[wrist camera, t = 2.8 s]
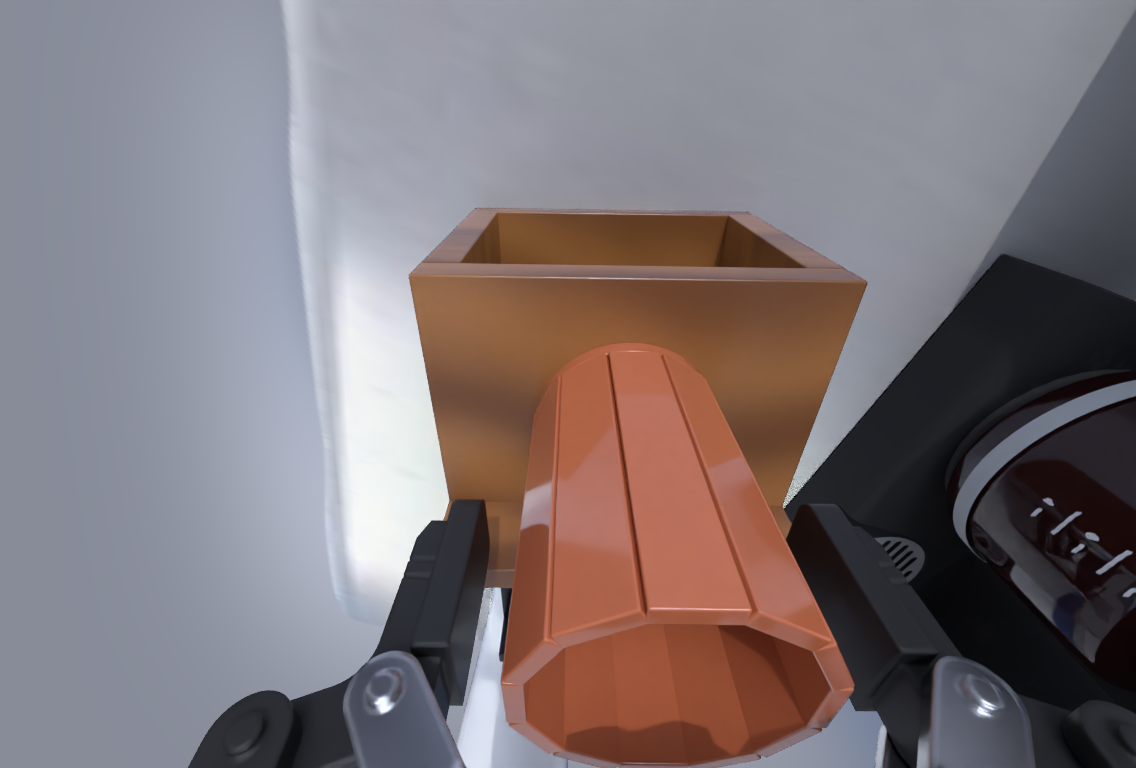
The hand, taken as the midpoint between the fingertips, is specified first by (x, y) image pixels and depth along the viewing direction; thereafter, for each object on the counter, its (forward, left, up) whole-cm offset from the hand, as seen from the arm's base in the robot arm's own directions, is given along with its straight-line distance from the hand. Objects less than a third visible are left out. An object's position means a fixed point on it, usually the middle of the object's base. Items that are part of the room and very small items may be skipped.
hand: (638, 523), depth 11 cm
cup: (0, 0, -4) cm, 4 cm away
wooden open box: (0, 0, -14) cm, 14 cm away
